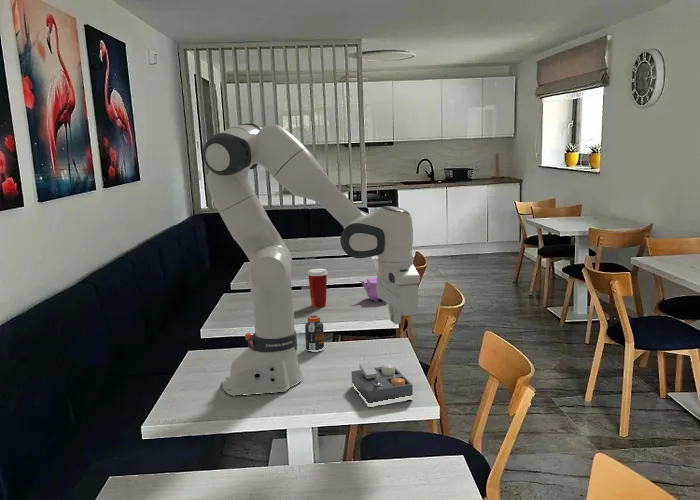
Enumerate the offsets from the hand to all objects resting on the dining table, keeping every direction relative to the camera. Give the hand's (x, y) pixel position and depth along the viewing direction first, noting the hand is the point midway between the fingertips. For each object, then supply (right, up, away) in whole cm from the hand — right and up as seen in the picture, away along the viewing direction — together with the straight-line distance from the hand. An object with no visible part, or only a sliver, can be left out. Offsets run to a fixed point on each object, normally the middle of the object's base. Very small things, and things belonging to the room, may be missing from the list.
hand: (395, 322), depth 149 cm
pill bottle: (-23, -14, +39) cm, 48 cm away
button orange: (+1, -19, +2) cm, 19 cm away
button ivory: (-1, -17, +8) cm, 19 cm away
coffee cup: (-25, -5, +90) cm, 94 cm away
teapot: (+1, -2, +98) cm, 98 cm away
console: (-3, -20, +5) cm, 20 cm away
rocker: (-7, -14, +6) cm, 16 cm away
